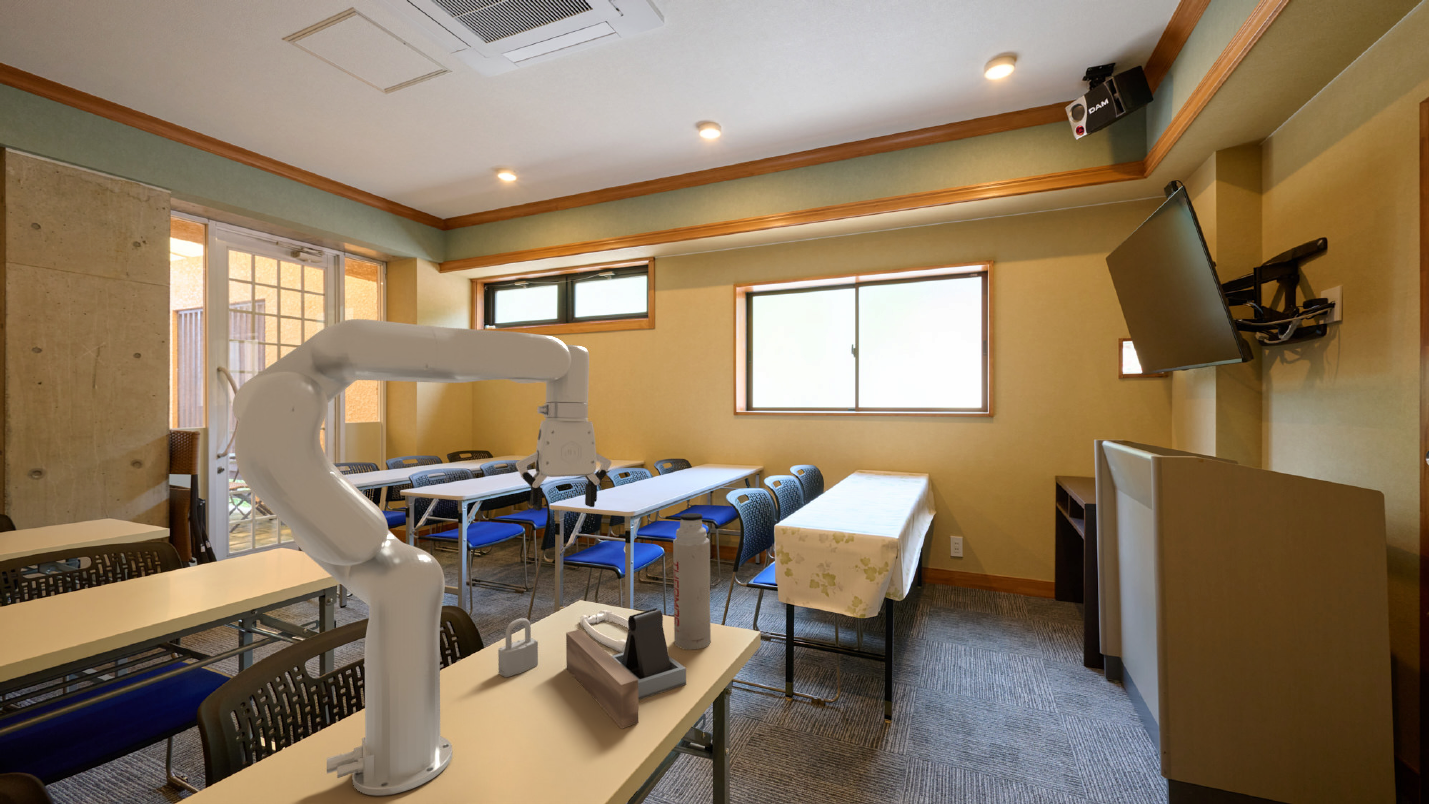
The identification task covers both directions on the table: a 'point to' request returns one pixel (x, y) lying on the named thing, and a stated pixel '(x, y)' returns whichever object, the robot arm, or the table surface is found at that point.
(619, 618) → the door handle
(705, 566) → the thermos bottle
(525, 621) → the padlock
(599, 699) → the board
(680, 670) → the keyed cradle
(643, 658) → the door stopper
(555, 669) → the table surface
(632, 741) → the table surface
